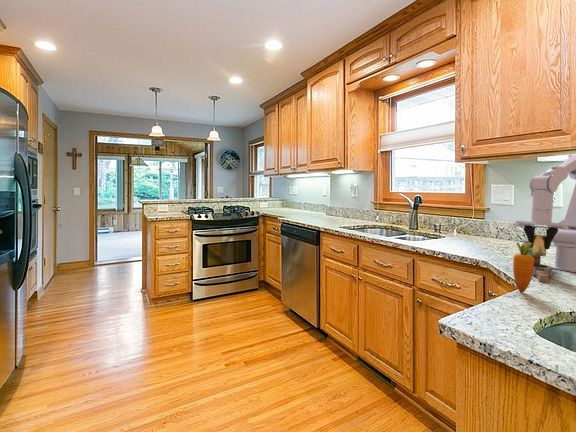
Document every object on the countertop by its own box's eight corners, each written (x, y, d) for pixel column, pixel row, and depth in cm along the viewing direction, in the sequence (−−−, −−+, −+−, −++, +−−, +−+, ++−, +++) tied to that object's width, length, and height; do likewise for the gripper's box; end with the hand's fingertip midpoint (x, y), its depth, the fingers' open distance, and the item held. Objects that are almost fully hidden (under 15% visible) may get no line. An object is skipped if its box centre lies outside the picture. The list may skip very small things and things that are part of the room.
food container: (520, 264, 132) (522, 239, 132) (540, 266, 129) (541, 241, 128) (518, 269, 123) (519, 243, 122) (538, 272, 119) (540, 245, 118)
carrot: (507, 289, 98) (510, 240, 96) (524, 290, 98) (527, 240, 96) (518, 295, 93) (521, 243, 92) (536, 295, 93) (540, 243, 91)
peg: (529, 254, 117) (530, 234, 116) (535, 253, 119) (536, 234, 118) (542, 256, 113) (543, 236, 113) (548, 255, 115) (549, 235, 114)
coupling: (516, 267, 126) (516, 259, 126) (566, 277, 113) (567, 268, 112) (495, 272, 119) (495, 264, 118) (546, 283, 105) (546, 274, 105)
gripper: (514, 209, 118) (511, 246, 119) (566, 211, 107) (563, 252, 108) (520, 208, 122) (517, 244, 123) (570, 210, 111) (567, 250, 112)
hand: (539, 248), depth 116 cm, fingers closed on peg, 4 cm apart
